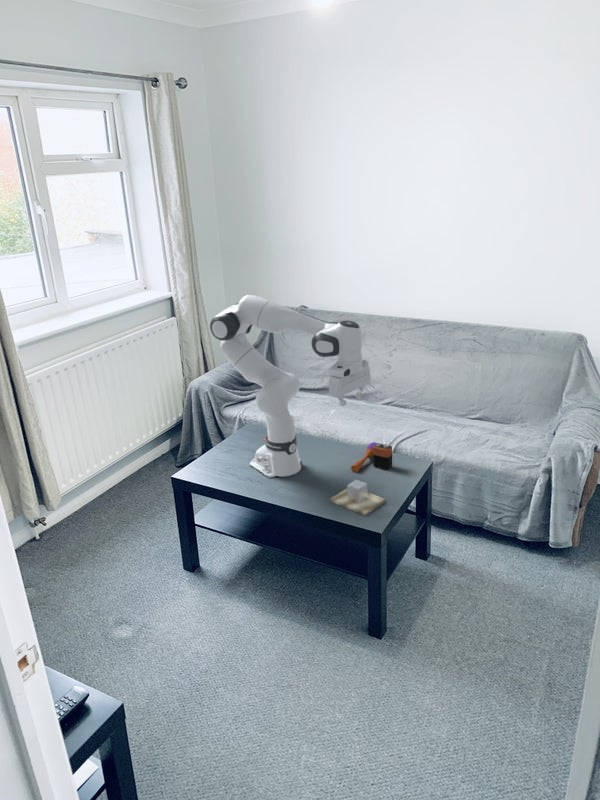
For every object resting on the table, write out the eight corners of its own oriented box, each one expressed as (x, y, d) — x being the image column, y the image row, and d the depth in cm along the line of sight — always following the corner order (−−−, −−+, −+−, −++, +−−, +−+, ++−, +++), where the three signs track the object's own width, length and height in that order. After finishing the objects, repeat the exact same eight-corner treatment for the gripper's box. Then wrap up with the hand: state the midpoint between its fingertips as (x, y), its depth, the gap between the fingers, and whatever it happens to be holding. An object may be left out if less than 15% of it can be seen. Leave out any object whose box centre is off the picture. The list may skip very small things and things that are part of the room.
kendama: (346, 462, 248) (369, 439, 263) (350, 475, 250) (372, 452, 264) (359, 462, 244) (381, 440, 259) (362, 475, 246) (384, 452, 261)
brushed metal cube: (347, 499, 226) (347, 485, 223) (356, 493, 229) (356, 479, 227) (358, 503, 222) (358, 489, 220) (367, 498, 226) (367, 483, 224)
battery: (388, 470, 247) (387, 448, 244) (372, 467, 251) (372, 444, 247) (392, 466, 251) (392, 443, 247) (377, 462, 254) (377, 440, 251)
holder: (330, 501, 227) (329, 487, 225) (350, 488, 235) (350, 475, 233) (365, 515, 217) (364, 501, 215) (385, 501, 225) (385, 488, 223)
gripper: (360, 357, 231) (361, 391, 236) (325, 371, 217) (326, 407, 222) (374, 359, 227) (374, 394, 232) (339, 374, 213) (340, 411, 218)
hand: (351, 401), depth 227 cm, fingers open, 8 cm apart
